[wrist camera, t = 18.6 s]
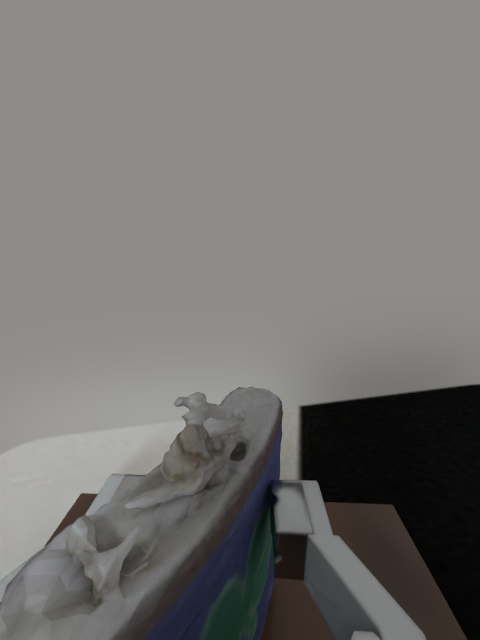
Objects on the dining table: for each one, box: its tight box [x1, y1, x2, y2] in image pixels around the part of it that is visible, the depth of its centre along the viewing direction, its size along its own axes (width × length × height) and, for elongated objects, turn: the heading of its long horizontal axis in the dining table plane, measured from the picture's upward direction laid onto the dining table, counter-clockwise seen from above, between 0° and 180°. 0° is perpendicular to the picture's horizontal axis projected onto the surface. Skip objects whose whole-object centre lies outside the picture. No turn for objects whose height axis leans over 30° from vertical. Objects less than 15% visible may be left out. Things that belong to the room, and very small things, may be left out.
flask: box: [0, 387, 283, 640], centre depth 8 cm, size 9×3×11 cm, turn 149°
